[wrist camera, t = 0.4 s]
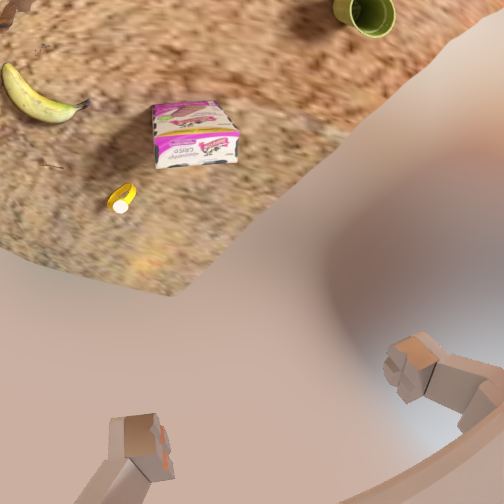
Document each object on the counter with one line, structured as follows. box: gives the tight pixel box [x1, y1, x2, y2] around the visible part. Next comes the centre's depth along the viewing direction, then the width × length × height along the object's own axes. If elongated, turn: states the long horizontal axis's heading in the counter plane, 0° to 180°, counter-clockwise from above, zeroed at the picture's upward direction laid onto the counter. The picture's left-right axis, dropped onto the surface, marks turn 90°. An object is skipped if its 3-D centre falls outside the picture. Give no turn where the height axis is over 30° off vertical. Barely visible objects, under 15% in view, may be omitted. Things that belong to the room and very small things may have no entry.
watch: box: [107, 183, 136, 213], centre depth 55 cm, size 6×3×6 cm, turn 115°
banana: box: [0, 0, 91, 169], centre depth 38 cm, size 35×27×4 cm
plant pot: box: [332, 0, 395, 38], centre depth 41 cm, size 9×9×9 cm
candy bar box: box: [152, 101, 239, 169], centre depth 45 cm, size 11×5×16 cm, turn 85°
